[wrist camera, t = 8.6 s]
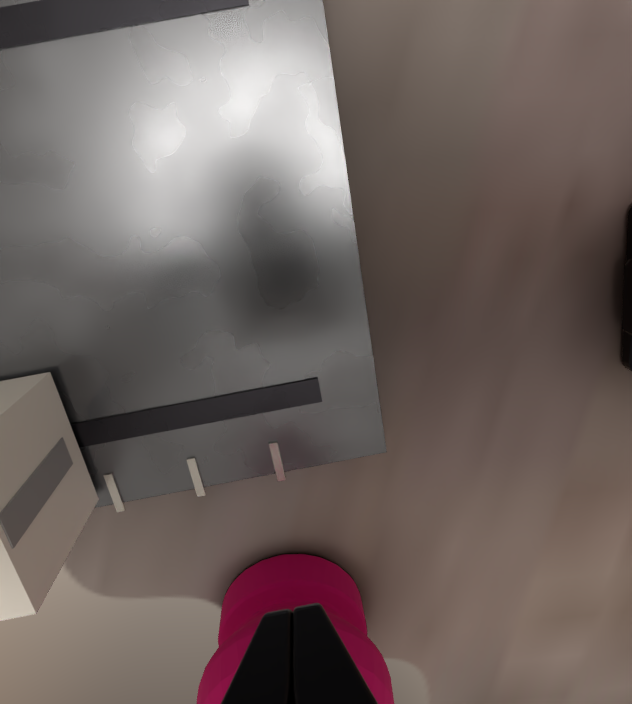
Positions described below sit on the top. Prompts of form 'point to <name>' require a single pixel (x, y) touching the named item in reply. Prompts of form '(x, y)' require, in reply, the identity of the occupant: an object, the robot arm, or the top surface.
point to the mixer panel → (182, 239)
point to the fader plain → (37, 492)
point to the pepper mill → (287, 593)
